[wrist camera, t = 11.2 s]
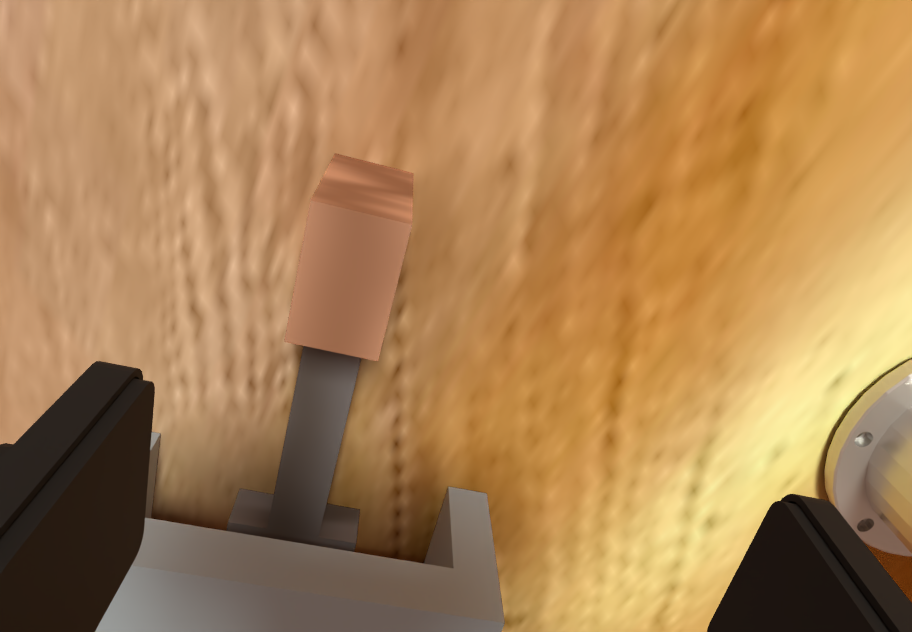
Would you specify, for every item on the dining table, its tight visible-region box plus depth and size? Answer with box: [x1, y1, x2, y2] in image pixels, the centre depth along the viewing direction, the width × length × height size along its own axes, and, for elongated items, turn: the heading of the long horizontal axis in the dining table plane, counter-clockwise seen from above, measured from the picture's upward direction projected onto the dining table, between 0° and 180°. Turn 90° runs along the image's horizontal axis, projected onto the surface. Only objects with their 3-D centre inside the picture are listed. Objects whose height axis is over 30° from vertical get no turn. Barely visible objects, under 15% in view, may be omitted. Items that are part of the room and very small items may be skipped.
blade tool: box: [226, 154, 413, 552], centre depth 28 cm, size 6×18×7 cm, turn 165°
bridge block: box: [95, 432, 505, 632], centre depth 32 cm, size 18×8×8 cm, turn 75°
